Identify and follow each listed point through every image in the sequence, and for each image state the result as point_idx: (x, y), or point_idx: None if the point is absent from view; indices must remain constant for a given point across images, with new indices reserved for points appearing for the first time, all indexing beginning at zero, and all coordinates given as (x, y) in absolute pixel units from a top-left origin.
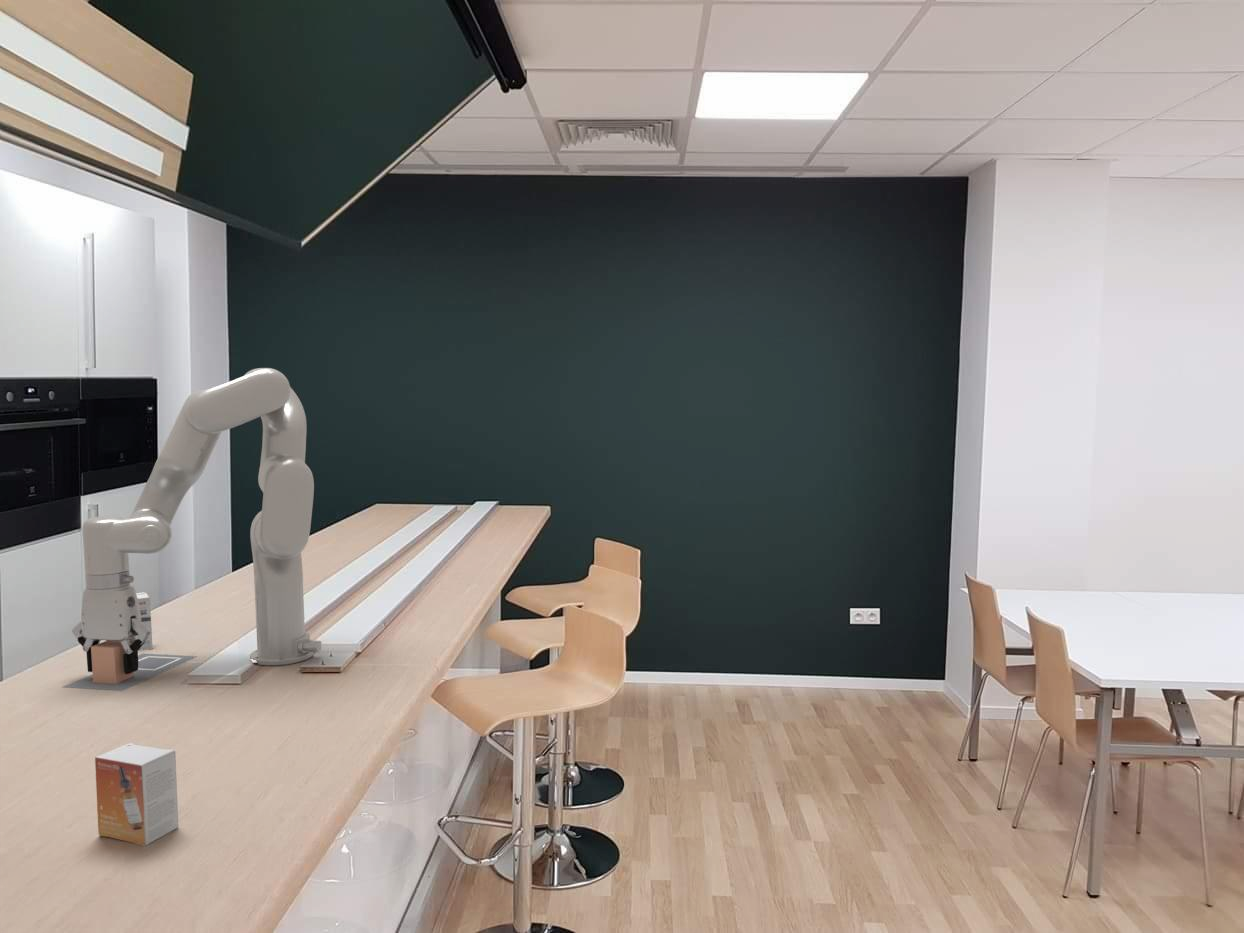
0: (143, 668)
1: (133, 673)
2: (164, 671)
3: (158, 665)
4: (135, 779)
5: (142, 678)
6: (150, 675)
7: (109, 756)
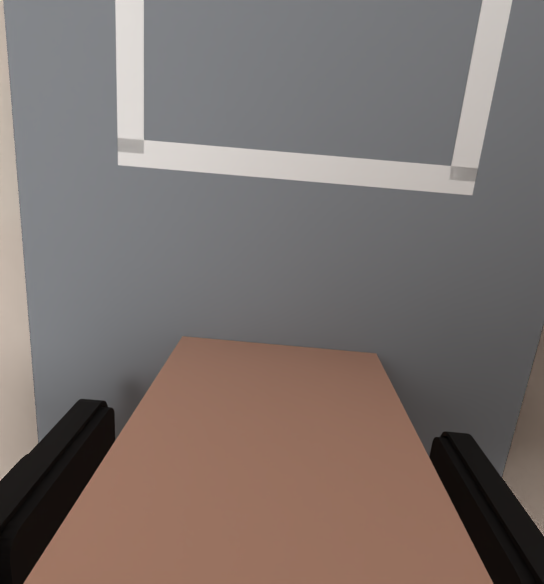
0: (337, 147)
1: (379, 364)
2: None
3: (431, 38)
4: None
5: (473, 399)
6: (500, 329)
7: None
